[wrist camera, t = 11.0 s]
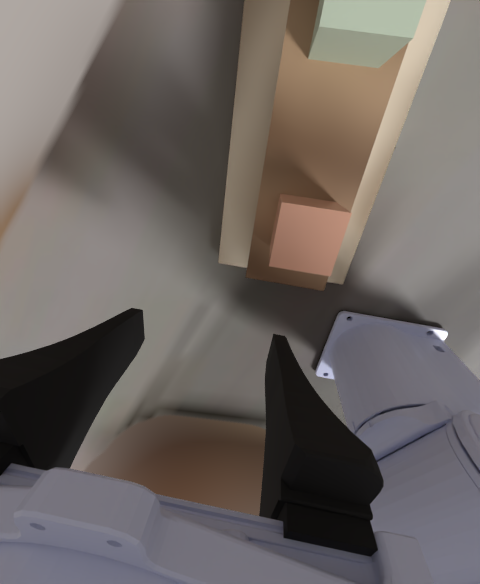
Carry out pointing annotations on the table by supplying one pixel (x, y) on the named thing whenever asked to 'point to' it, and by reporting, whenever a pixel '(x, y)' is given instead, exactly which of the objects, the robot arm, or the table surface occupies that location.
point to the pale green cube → (363, 30)
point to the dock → (257, 117)
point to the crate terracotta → (307, 234)
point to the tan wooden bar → (316, 135)
